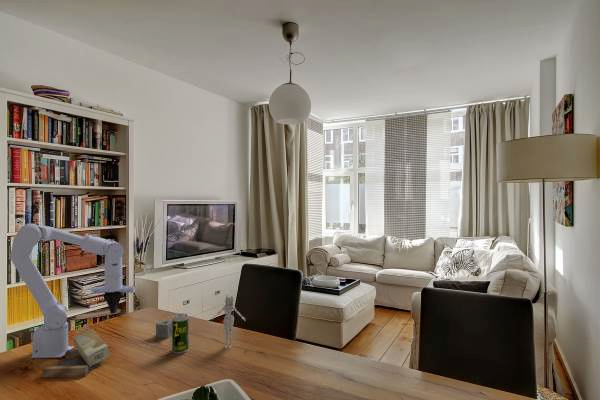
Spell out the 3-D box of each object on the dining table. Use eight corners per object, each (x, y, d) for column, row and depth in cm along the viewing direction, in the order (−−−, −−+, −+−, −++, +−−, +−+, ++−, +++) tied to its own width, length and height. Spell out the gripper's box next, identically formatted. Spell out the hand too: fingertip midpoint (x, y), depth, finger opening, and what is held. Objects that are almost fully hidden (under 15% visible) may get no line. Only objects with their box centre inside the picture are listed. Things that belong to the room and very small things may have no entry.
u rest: (42, 377, 106) (42, 368, 106) (68, 357, 119) (68, 349, 119) (85, 376, 107) (85, 368, 107) (106, 356, 120) (106, 349, 120)
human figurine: (210, 347, 128) (210, 296, 127) (214, 343, 132) (214, 293, 131) (243, 349, 126) (244, 297, 126) (246, 344, 130) (247, 294, 130)
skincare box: (87, 356, 110) (71, 337, 118) (89, 367, 112) (73, 347, 119) (108, 345, 115) (92, 327, 122) (111, 355, 117) (94, 337, 124)
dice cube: (155, 337, 137) (155, 323, 136) (163, 332, 141) (163, 319, 141) (167, 338, 135) (167, 325, 135) (175, 333, 140) (175, 320, 140)
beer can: (171, 348, 126) (171, 314, 126) (187, 346, 128) (187, 312, 128) (172, 355, 121) (172, 319, 121) (189, 352, 124) (189, 317, 123)
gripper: (87, 278, 127) (87, 316, 128) (130, 277, 128) (130, 316, 129) (96, 273, 134) (96, 310, 135) (137, 273, 135) (137, 309, 136)
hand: (113, 312), depth 132 cm, fingers closed
